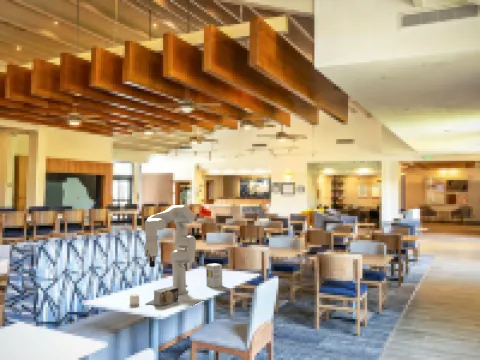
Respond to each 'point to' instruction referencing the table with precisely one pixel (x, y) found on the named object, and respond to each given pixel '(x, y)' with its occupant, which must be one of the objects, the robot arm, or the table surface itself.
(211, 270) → the supplement box
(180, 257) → the robot arm
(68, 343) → the table surface
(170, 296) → the coffee box
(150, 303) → the slate mat
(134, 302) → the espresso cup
